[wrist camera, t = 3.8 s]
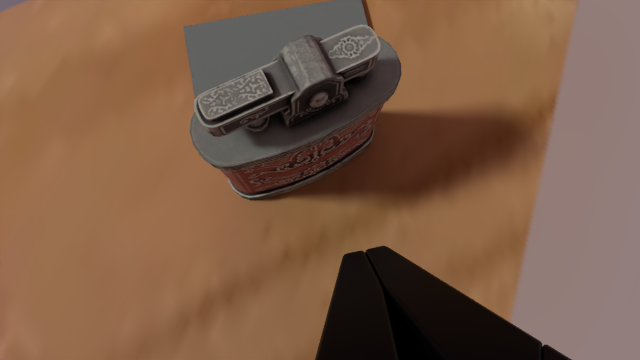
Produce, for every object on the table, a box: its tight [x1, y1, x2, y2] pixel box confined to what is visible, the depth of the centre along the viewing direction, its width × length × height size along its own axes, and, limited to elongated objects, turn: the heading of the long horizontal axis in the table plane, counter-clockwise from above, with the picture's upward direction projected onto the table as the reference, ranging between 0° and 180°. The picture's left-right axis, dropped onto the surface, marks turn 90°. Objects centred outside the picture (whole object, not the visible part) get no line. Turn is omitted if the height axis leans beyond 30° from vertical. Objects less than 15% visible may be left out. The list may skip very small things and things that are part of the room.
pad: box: [184, 0, 368, 99], centre depth 24 cm, size 6×10×1 cm, turn 102°
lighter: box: [190, 25, 401, 200], centre depth 18 cm, size 8×3×10 cm, turn 116°
